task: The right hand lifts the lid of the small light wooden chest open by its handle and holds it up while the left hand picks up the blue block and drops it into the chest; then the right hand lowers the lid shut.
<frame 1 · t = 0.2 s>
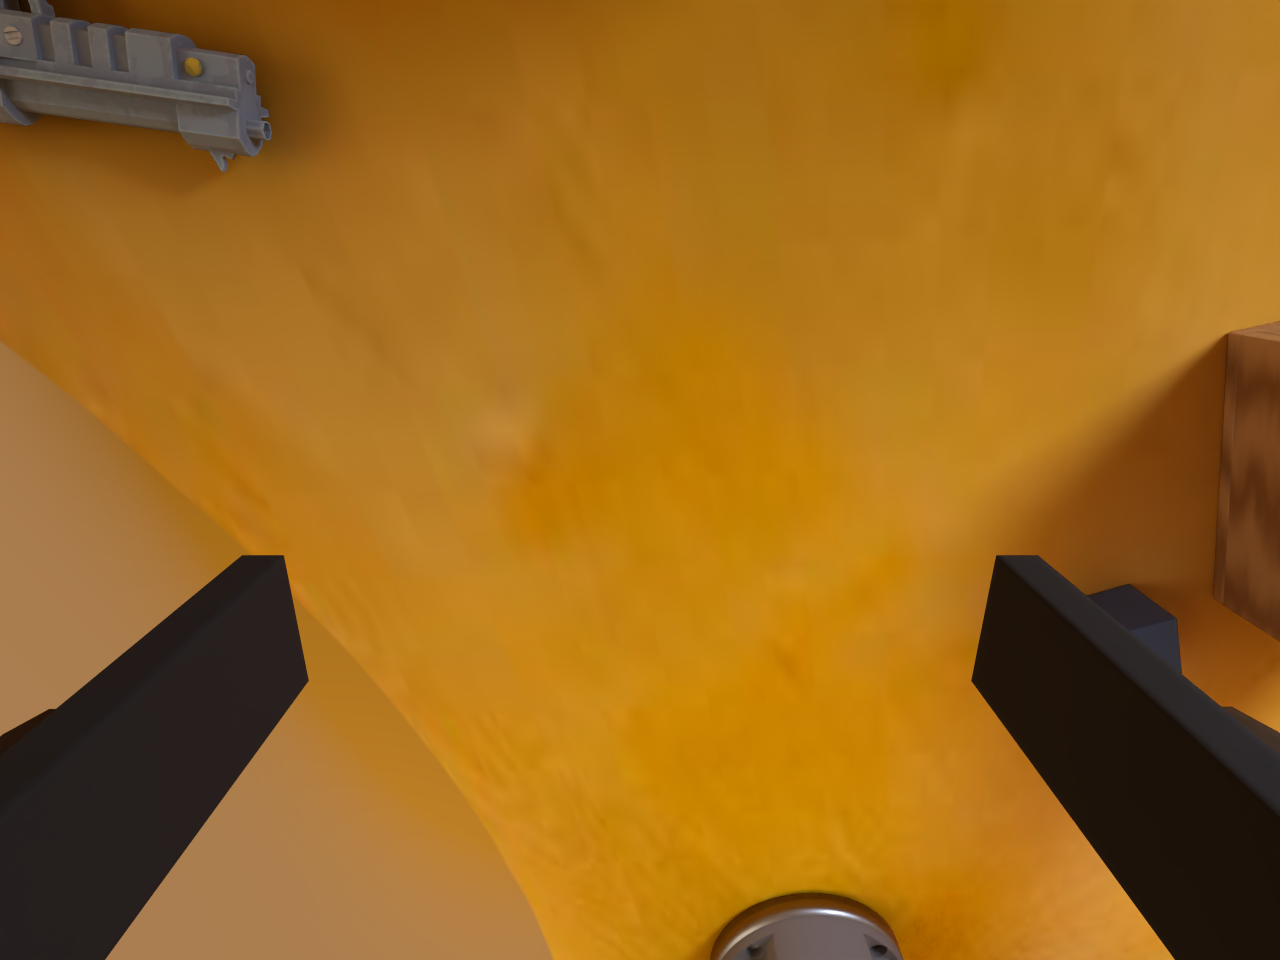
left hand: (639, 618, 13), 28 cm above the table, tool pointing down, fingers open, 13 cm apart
block: (1100, 619, 45), on the table
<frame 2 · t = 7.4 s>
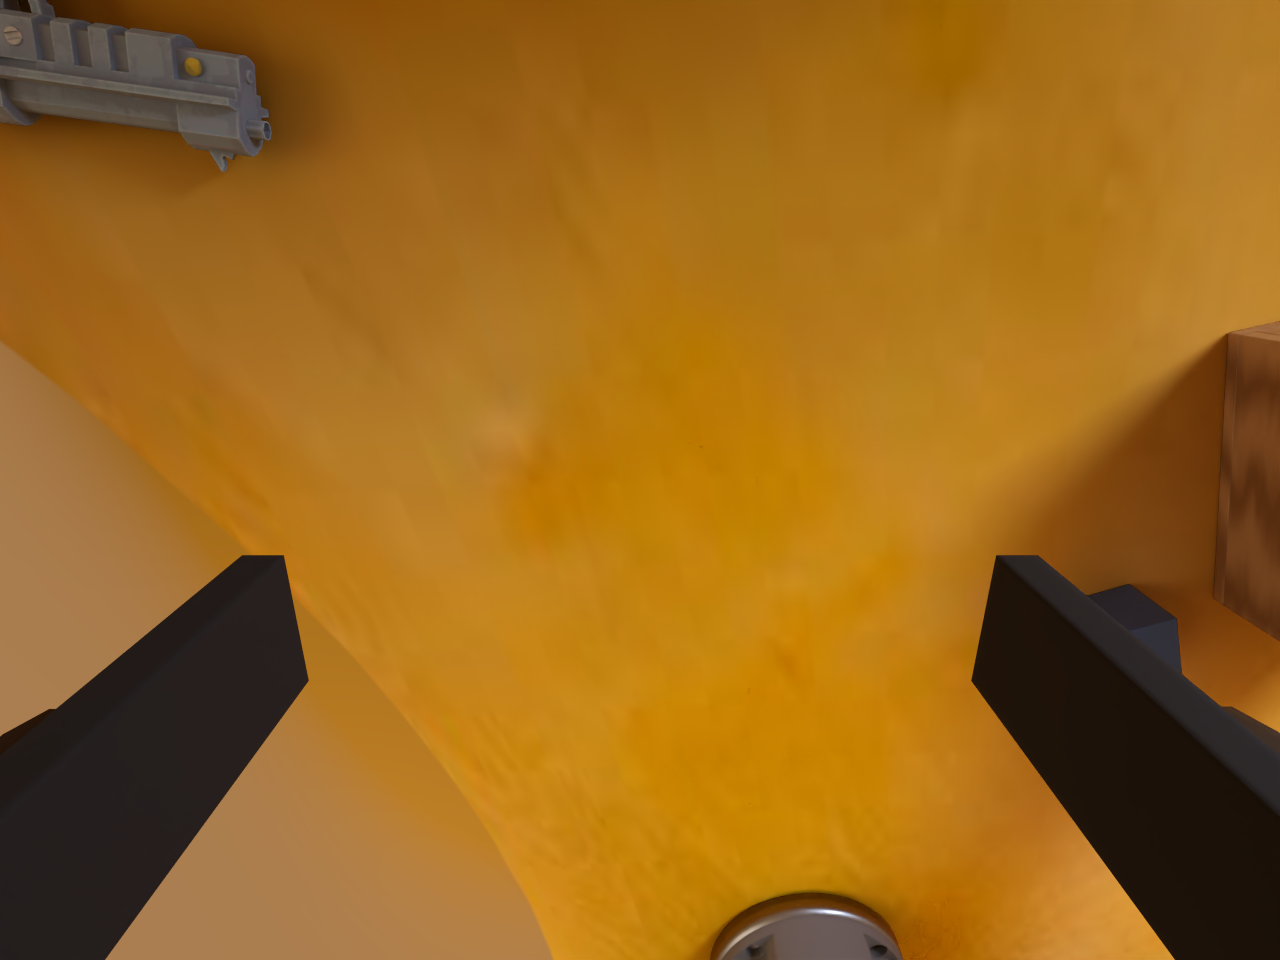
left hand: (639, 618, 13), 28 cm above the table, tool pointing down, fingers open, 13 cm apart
block: (1100, 619, 45), on the table
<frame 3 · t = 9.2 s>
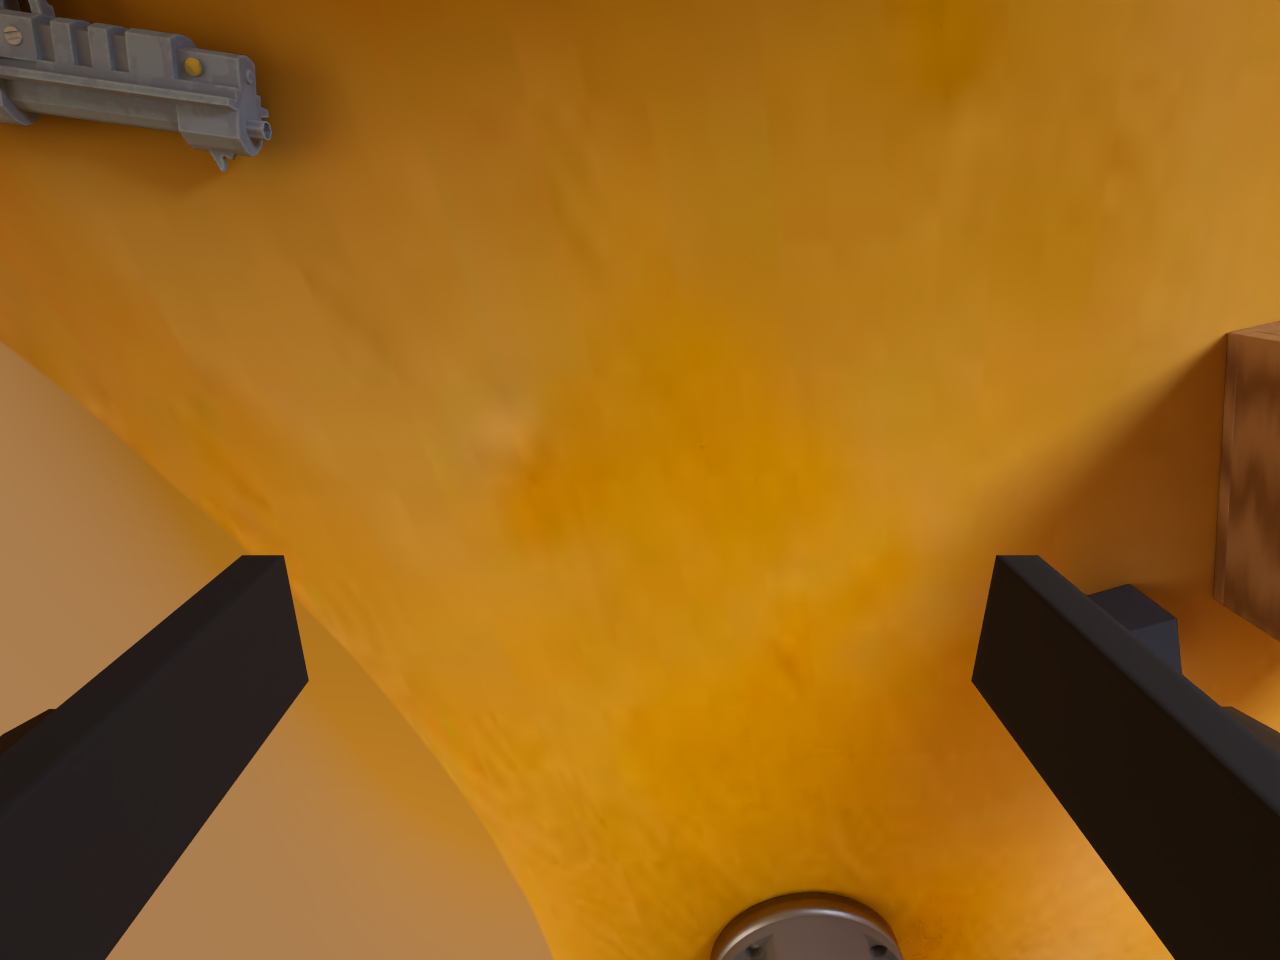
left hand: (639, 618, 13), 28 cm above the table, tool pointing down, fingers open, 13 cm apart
block: (1100, 619, 45), on the table
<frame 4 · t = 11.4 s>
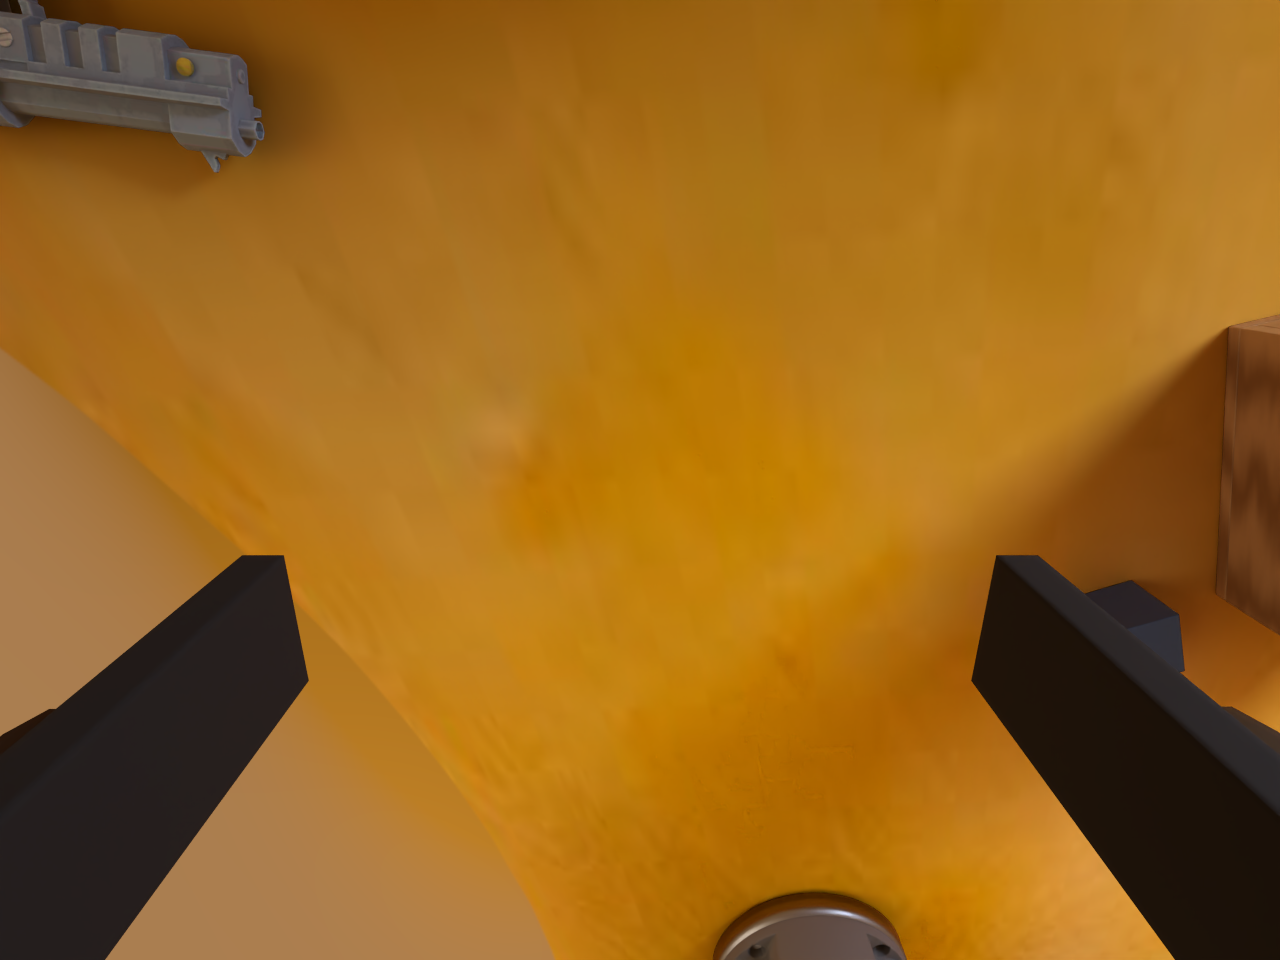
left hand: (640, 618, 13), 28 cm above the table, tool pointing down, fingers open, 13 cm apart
block: (1102, 616, 45), on the table
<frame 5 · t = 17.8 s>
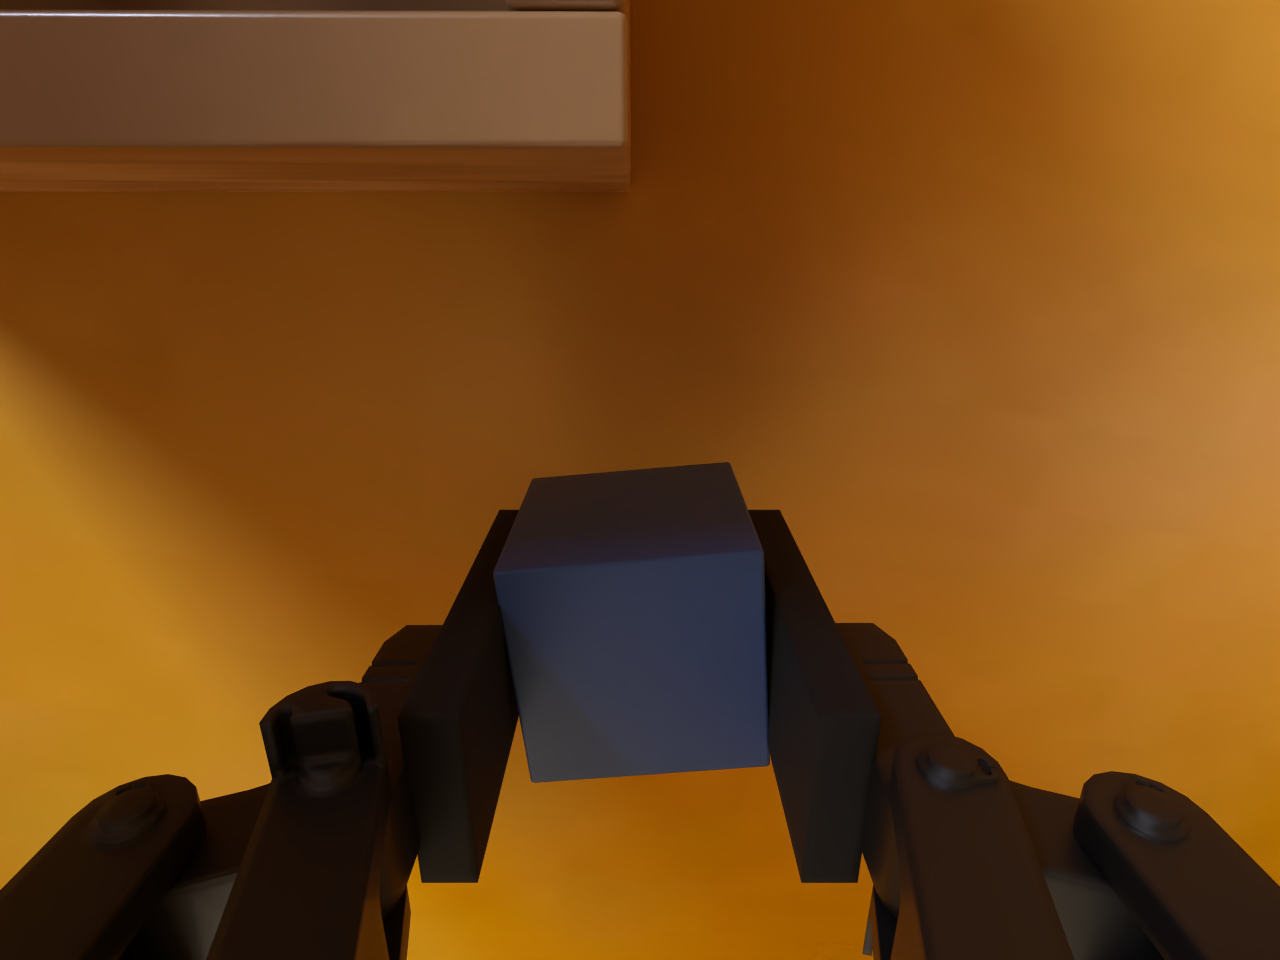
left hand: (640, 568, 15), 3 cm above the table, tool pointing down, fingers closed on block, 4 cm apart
block: (639, 558, 15), point 3 cm above the table, touching left hand
when the left hand's fingers open (18 cm above the table, at t = 20.8 s): block drops 17 cm, resting on chest.
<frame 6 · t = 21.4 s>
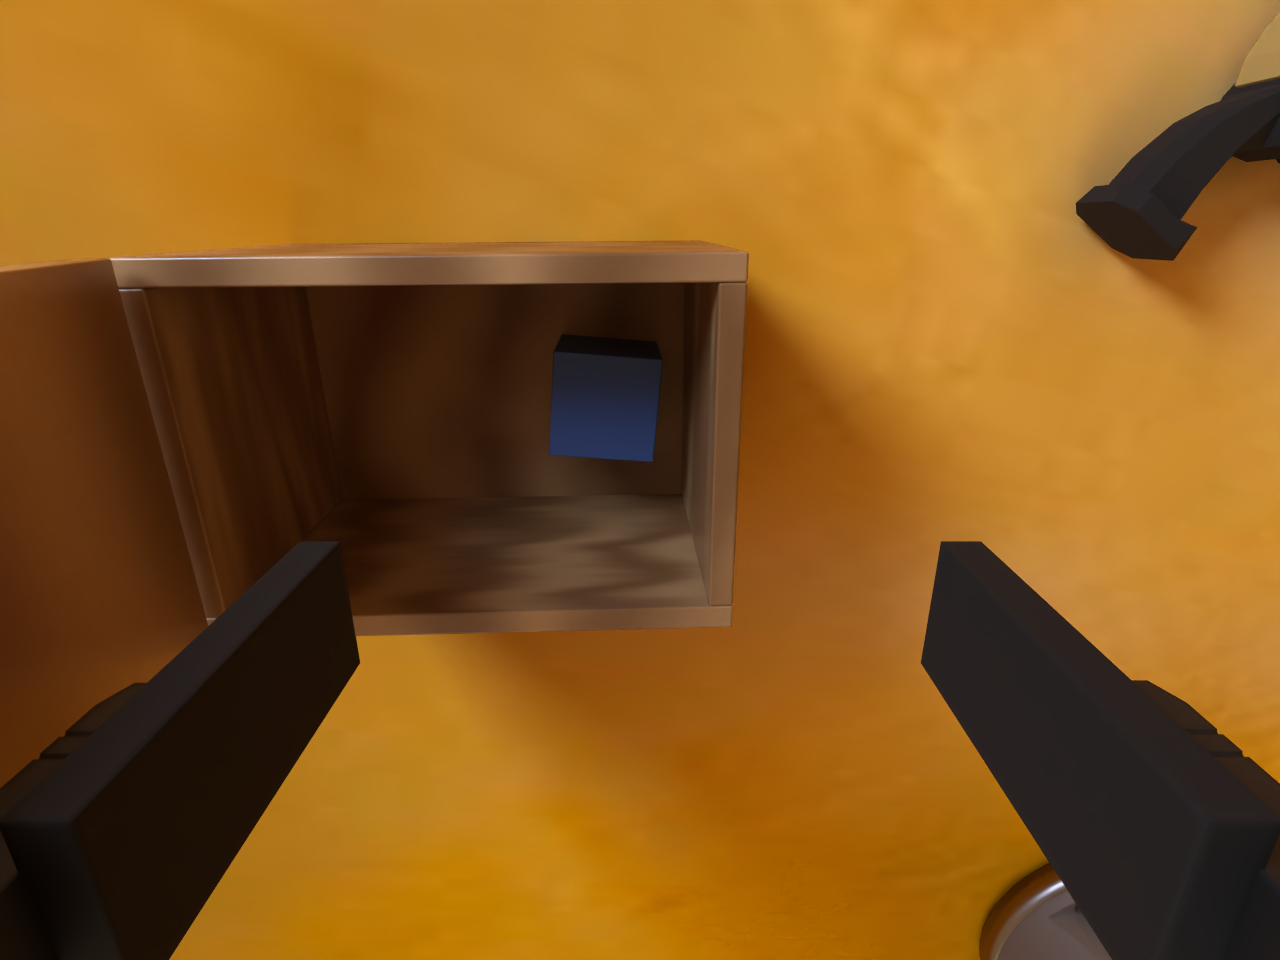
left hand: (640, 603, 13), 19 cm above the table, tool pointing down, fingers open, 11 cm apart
chest: (507, 383, 31), on the table, touching block
block: (606, 384, 31), point 1 cm above the table, touching chest
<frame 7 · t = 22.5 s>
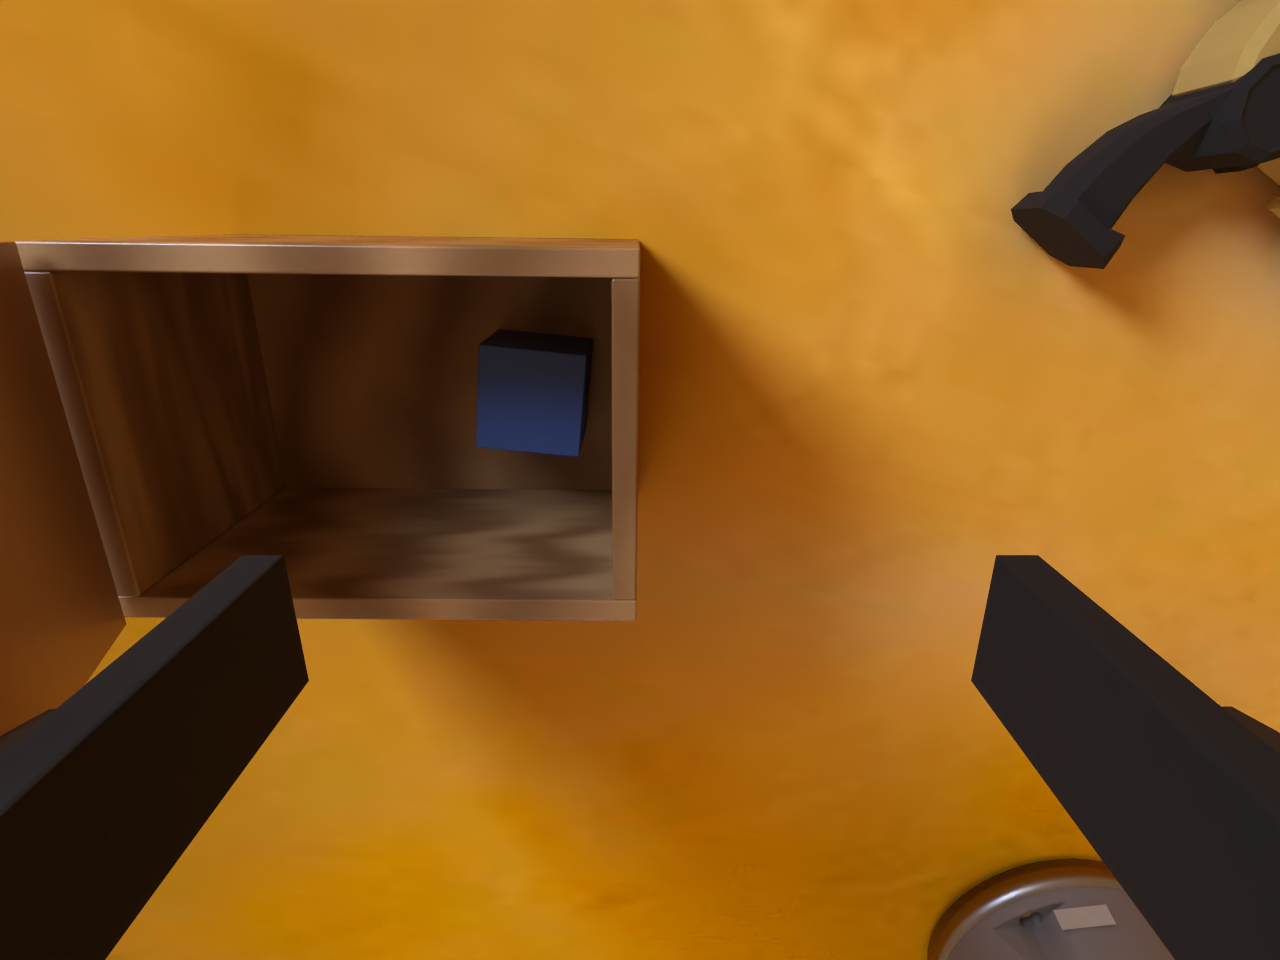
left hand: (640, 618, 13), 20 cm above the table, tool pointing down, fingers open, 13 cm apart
toy gun 2: (1267, 191, 29), on the table
chest: (448, 376, 32), on the table, touching block
block: (543, 380, 31), point 1 cm above the table, touching chest
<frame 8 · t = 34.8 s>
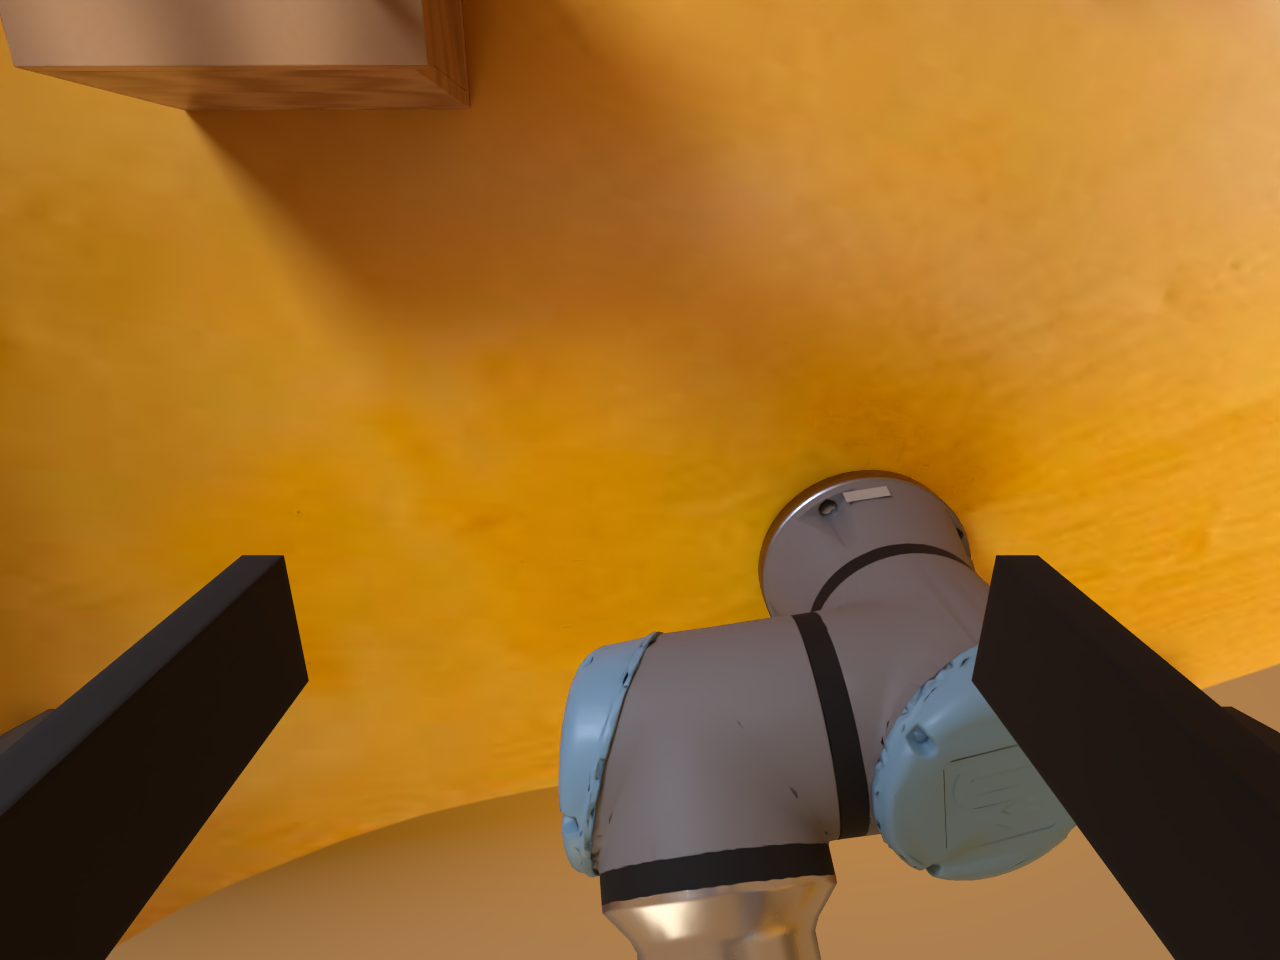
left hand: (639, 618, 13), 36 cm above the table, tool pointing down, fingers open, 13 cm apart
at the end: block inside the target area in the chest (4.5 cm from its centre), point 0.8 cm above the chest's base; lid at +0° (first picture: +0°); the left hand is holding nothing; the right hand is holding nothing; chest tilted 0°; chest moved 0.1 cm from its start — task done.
